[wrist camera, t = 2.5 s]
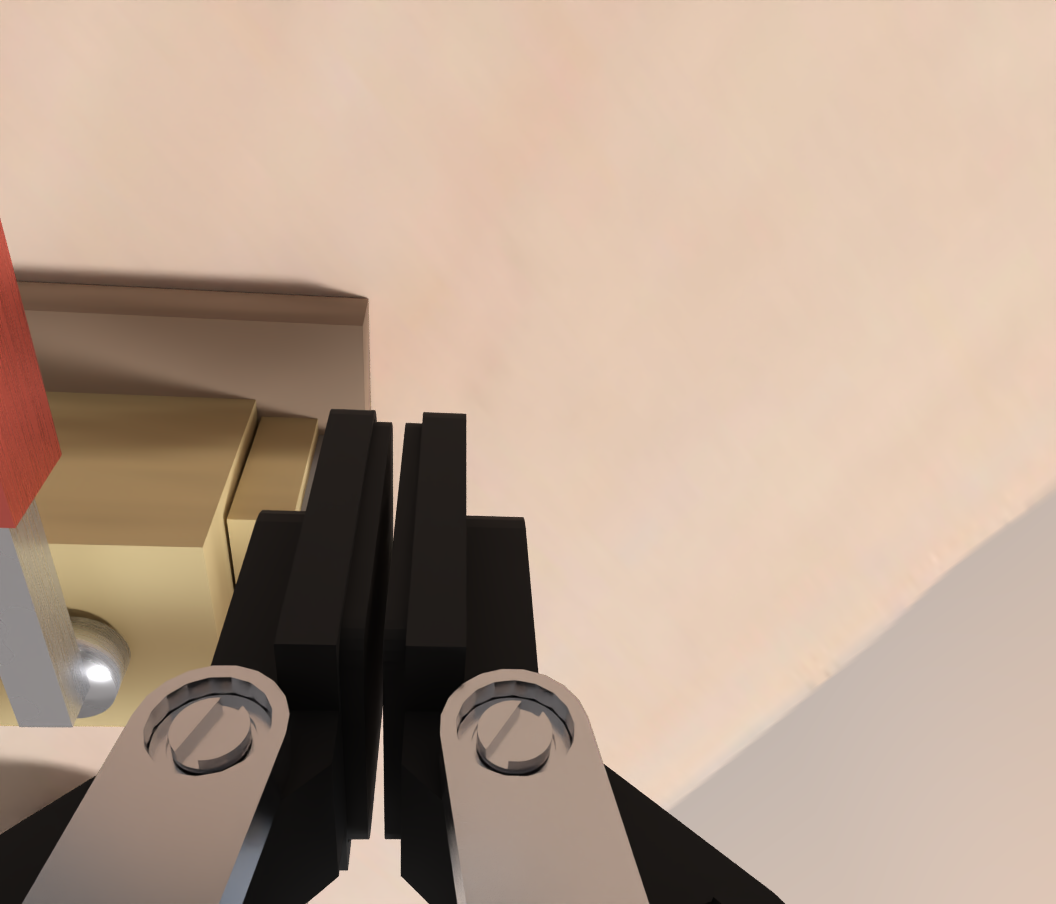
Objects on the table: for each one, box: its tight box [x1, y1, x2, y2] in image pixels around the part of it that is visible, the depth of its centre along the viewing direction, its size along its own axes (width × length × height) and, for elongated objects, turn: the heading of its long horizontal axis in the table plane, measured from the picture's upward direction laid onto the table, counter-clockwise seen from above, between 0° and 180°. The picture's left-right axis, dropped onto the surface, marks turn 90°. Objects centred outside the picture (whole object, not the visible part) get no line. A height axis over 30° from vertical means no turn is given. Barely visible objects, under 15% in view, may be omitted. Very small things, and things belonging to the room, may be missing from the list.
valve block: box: [0, 281, 371, 727], centre depth 22 cm, size 10×11×7 cm
